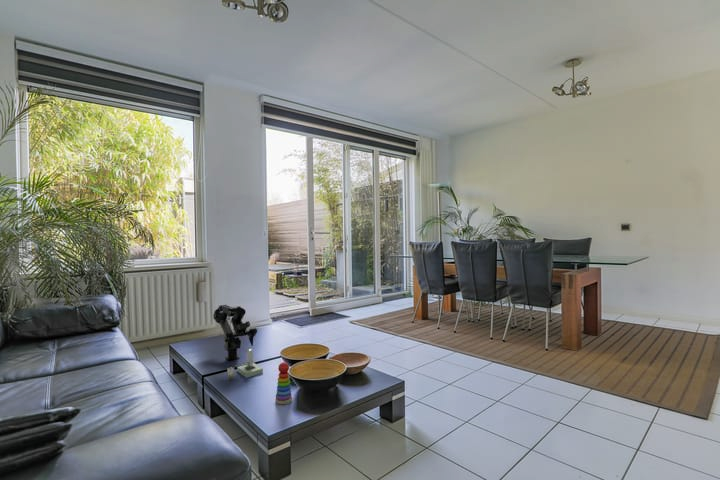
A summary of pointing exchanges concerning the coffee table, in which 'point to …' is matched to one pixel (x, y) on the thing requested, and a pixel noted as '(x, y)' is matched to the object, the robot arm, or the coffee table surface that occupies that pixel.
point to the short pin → (230, 373)
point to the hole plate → (252, 372)
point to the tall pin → (249, 359)
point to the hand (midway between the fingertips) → (244, 347)
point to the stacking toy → (283, 385)
